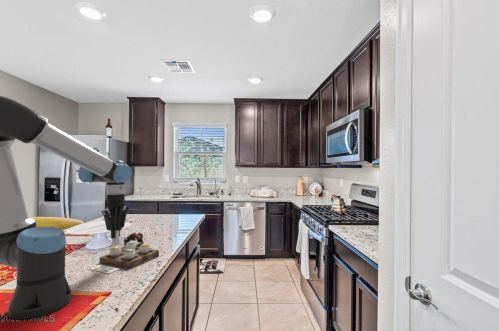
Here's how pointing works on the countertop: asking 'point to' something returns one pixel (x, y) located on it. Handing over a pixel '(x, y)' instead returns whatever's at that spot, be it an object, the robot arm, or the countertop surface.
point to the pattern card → (104, 269)
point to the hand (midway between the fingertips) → (115, 244)
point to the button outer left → (131, 245)
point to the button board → (130, 263)
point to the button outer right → (145, 248)
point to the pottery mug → (134, 238)
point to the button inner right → (129, 254)
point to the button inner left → (115, 251)
